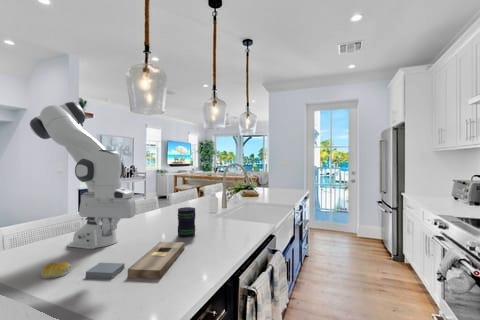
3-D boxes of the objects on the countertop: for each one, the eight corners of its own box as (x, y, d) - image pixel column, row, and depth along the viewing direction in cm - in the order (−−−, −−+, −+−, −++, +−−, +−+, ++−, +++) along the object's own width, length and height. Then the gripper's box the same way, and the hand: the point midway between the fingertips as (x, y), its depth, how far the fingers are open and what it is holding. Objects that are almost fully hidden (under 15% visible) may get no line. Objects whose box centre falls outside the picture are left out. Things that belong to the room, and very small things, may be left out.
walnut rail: (127, 277, 88) (127, 268, 88) (159, 248, 118) (160, 241, 118) (160, 278, 88) (160, 269, 88) (184, 248, 118) (184, 242, 118)
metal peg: (99, 236, 91) (99, 217, 91) (105, 233, 94) (105, 215, 94) (108, 237, 90) (109, 217, 91) (114, 234, 94) (114, 215, 94)
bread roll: (49, 270, 95) (49, 259, 95) (74, 268, 96) (74, 258, 96) (34, 280, 87) (34, 268, 87) (62, 278, 88) (62, 267, 88)
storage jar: (174, 235, 139) (174, 208, 139) (189, 231, 146) (189, 206, 146) (182, 239, 132) (183, 211, 132) (198, 235, 138) (198, 209, 138)
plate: (85, 277, 88) (85, 271, 88) (99, 267, 96) (99, 262, 96) (112, 278, 88) (112, 272, 88) (124, 268, 96) (124, 263, 96)
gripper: (75, 192, 90) (74, 230, 90) (129, 194, 89) (129, 232, 89) (86, 190, 96) (86, 226, 96) (138, 191, 95) (137, 227, 95)
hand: (107, 229), depth 92 cm, fingers closed on metal peg, 4 cm apart
